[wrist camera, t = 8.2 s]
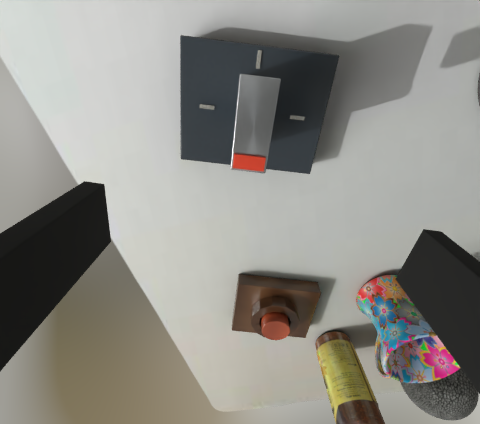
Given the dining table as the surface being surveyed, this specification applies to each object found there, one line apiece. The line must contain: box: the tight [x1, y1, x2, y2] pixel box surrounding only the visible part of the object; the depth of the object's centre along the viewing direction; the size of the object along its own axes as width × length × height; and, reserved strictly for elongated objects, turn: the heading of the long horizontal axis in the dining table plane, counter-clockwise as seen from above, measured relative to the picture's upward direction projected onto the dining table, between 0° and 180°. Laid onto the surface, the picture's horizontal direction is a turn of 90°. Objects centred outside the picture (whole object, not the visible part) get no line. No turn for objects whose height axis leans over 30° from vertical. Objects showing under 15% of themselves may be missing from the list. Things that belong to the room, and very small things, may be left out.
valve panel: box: [180, 35, 339, 174], centre depth 26 cm, size 14×11×3 cm
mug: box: [356, 275, 460, 383], centre depth 35 cm, size 12×9×11 cm
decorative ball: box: [400, 368, 478, 420], centre depth 40 cm, size 10×10×10 cm
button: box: [261, 312, 290, 340], centre depth 36 cm, size 4×4×2 cm
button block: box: [232, 274, 321, 338], centre depth 39 cm, size 12×10×4 cm
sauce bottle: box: [316, 331, 385, 424], centre depth 35 cm, size 7×6×20 cm
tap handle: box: [231, 74, 281, 173], centre depth 20 cm, size 6×2×9 cm, turn 174°
